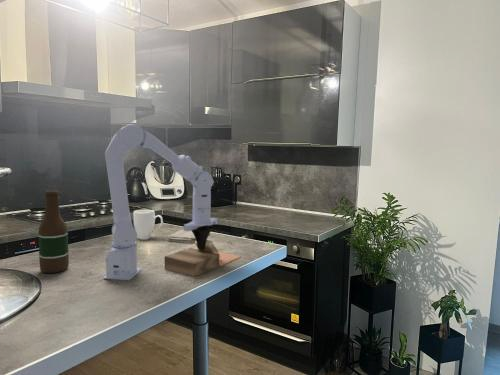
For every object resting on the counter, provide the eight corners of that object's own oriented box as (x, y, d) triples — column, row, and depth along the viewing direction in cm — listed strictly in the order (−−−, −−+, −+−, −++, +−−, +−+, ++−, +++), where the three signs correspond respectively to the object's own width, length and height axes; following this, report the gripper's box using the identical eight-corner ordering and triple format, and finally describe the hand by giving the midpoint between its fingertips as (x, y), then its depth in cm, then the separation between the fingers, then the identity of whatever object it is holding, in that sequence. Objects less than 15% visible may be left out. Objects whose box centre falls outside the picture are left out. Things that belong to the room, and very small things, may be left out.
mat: (220, 266, 117) (220, 265, 117) (189, 259, 124) (189, 257, 123) (241, 257, 127) (241, 256, 127) (211, 251, 134) (211, 250, 134)
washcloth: (165, 242, 145) (165, 235, 145) (184, 233, 163) (184, 226, 162) (193, 245, 143) (193, 237, 142) (209, 235, 160) (209, 228, 160)
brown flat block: (194, 277, 107) (194, 263, 106) (164, 268, 113) (164, 256, 113) (218, 266, 117) (219, 254, 116) (190, 259, 123) (190, 247, 123)
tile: (208, 245, 116) (211, 240, 117) (194, 242, 119) (197, 238, 121) (217, 260, 121) (220, 256, 122) (203, 257, 124) (206, 253, 125)
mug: (130, 240, 146) (129, 212, 145) (139, 235, 154) (138, 208, 153) (158, 242, 144) (158, 213, 143) (166, 237, 153) (166, 210, 151)
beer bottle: (74, 266, 113) (72, 190, 111) (55, 274, 106) (52, 192, 103) (54, 263, 115) (51, 188, 113) (33, 271, 108) (30, 191, 105)
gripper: (196, 212, 108) (195, 256, 110) (225, 206, 120) (224, 246, 122) (178, 209, 112) (178, 252, 114) (208, 204, 124) (208, 243, 126)
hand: (201, 249), depth 118 cm, fingers closed, pressing on tile
